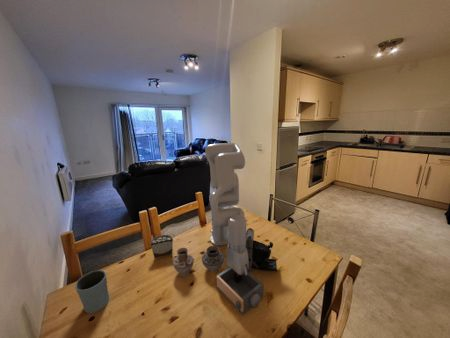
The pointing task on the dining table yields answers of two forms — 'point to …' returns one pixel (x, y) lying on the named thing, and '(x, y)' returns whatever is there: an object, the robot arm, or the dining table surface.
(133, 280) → the dining table surface
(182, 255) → the pottery
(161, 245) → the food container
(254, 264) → the vintage camera
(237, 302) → the door
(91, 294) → the grey green cup
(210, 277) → the dining table surface
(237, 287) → the grey open drawer box
